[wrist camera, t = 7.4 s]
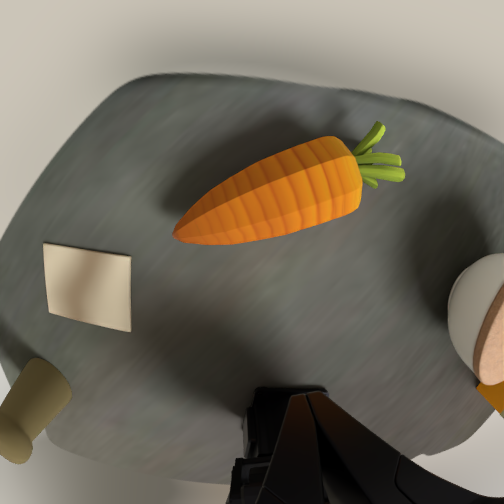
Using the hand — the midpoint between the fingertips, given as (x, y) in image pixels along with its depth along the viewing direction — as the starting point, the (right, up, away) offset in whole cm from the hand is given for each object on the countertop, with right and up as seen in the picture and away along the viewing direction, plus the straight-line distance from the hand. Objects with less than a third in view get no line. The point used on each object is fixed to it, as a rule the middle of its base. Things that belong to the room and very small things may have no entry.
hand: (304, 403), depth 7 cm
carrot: (-6, +5, +10) cm, 13 cm away
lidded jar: (+19, 0, +14) cm, 24 cm away
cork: (-23, -9, +15) cm, 28 cm away
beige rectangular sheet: (-14, +2, +12) cm, 19 cm away
